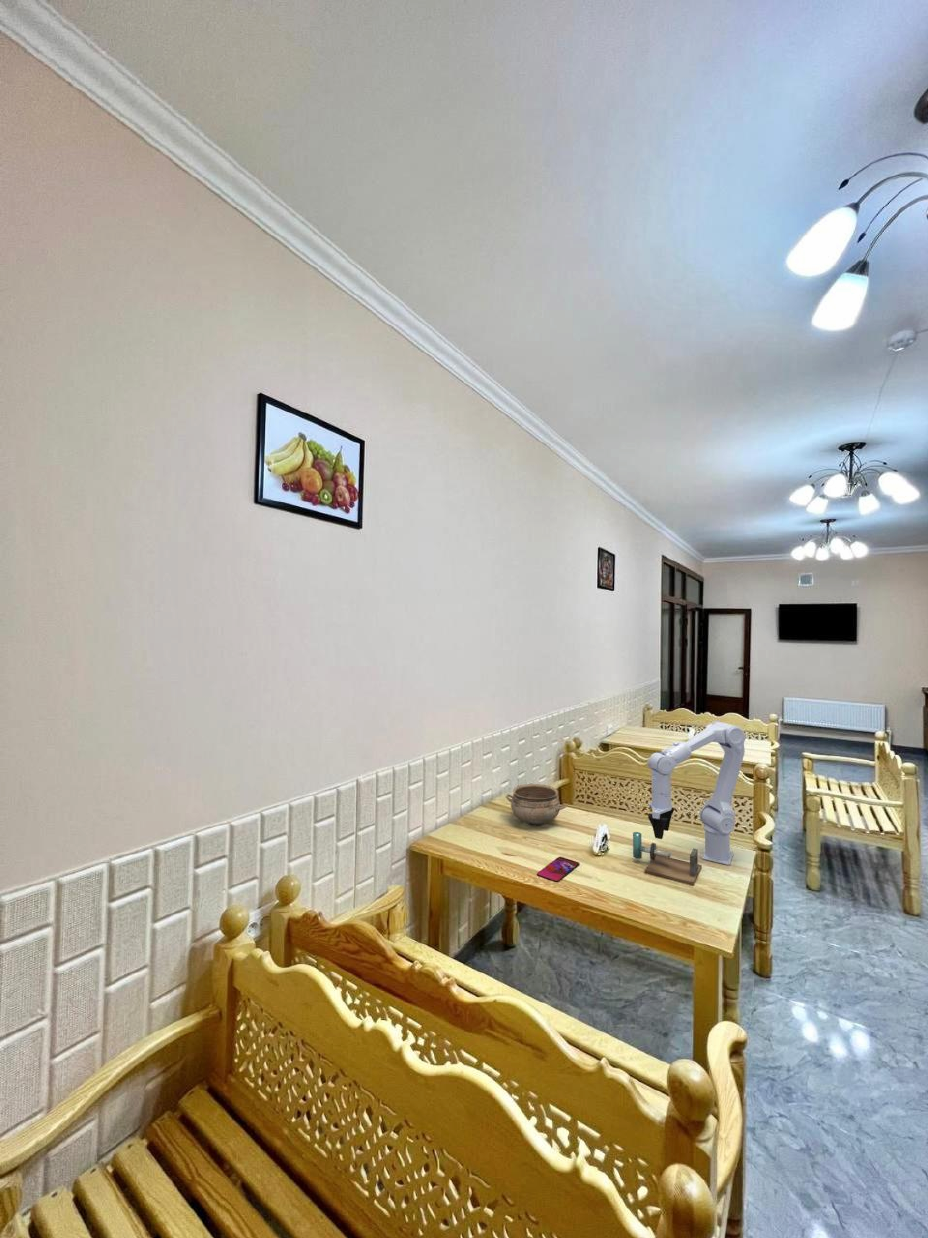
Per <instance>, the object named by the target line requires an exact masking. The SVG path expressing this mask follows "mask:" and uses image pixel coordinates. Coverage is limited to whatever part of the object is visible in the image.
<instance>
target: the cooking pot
mask: <svg viewBox="0 0 928 1238" xmlns="http://www.w3.org/2000/svg"><path fill="white" fill-rule="evenodd" d="M512 792H513V794H510V793H508V794H506V796H505V798H506V800H507V801H508V802H509V803H510V807H511V810H512V812H513V814H514V815H515V816H516V817H517V819H519V820H520V821H522V822H525V823H526V824H527V825H529V826H533V827H534V826H535V827H538V826H539V827H541V826H543V825H545V824H548V823H549V822H552V821H554V819H555V818H557V817H558V815H559V814H560V812H561V810H564V809H566V808H567V807H568V806H567V804H560V803H561V802H560V800H559V796H558V795H559V790H558V789H556V788H555V787H552V786H550V785H547V784H546V785H545V784H540V783H539V784H538V783H527V784H521V785H517V786H516V787H513V788H512Z"/></svg>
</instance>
